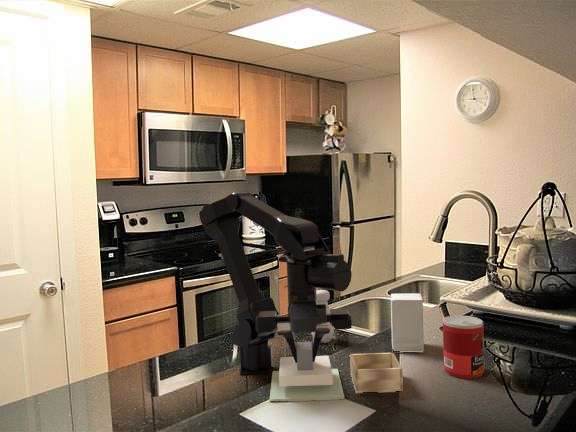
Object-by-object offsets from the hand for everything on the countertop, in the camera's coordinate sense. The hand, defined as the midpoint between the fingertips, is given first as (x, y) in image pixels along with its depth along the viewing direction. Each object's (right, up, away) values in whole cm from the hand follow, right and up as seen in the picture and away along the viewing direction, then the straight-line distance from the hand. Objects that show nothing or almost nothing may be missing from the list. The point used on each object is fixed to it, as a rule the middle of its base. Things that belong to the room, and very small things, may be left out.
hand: (304, 362), depth 99 cm
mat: (0, -5, 0) cm, 5 cm away
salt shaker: (+6, -3, +28) cm, 29 cm away
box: (+14, -4, 0) cm, 15 cm away
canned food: (+33, -3, +4) cm, 34 cm away
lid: (0, -3, 0) cm, 3 cm away
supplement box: (+26, -3, +20) cm, 32 cm away
